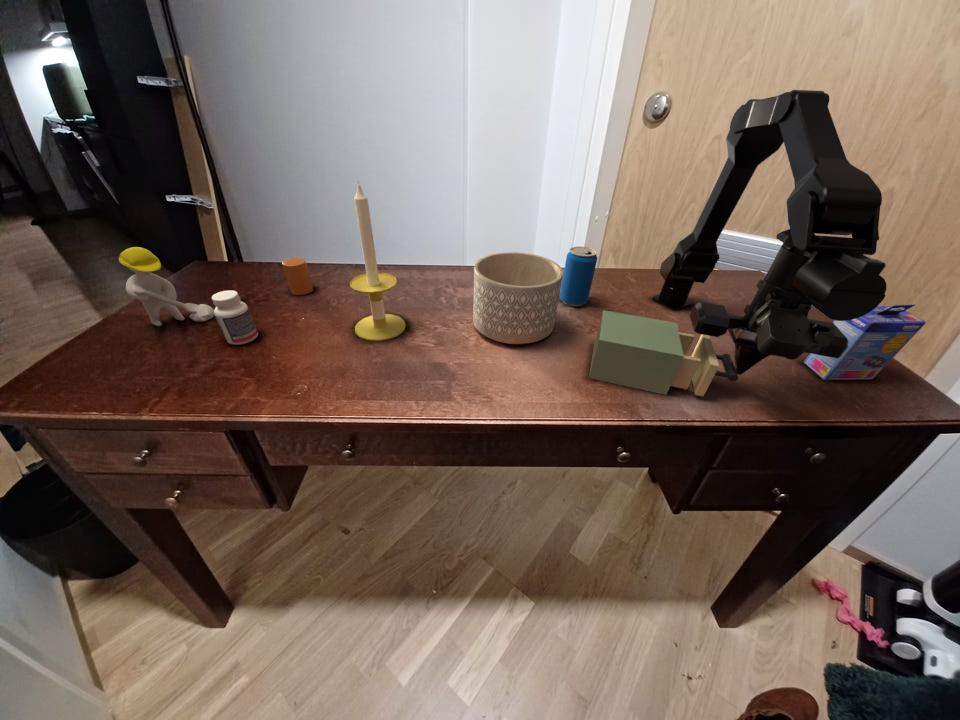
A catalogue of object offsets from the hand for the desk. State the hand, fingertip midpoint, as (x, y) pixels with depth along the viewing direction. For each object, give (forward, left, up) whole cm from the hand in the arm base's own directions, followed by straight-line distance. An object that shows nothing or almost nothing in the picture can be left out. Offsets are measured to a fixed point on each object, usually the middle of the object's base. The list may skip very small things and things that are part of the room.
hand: (737, 373), depth 59 cm
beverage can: (+2, -36, -4) cm, 36 cm away
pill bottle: (+69, -53, -4) cm, 87 cm away
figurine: (+79, -65, -4) cm, 103 cm away
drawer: (+6, -6, -3) cm, 9 cm away
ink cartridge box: (-23, +7, -4) cm, 24 cm away
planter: (+21, -33, -4) cm, 40 cm away
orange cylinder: (+56, -69, -4) cm, 89 cm away
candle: (+45, -45, -4) cm, 64 cm away
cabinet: (+11, -12, -4) cm, 17 cm away
